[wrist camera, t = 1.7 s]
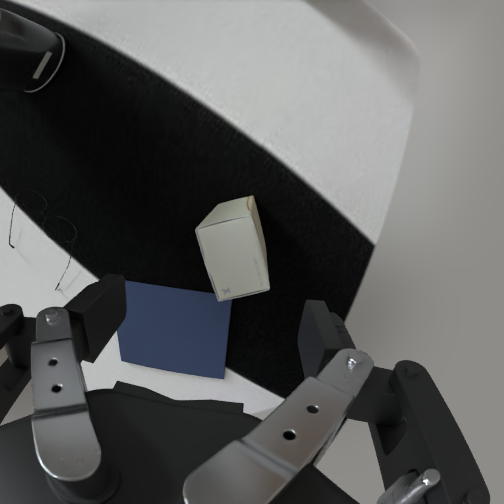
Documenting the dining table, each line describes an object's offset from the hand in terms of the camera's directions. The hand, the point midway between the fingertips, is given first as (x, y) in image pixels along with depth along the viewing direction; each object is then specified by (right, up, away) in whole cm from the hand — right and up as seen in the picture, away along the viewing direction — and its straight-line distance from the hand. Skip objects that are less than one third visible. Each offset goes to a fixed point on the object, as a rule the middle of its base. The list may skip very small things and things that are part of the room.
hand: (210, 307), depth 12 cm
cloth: (-9, -9, +25) cm, 28 cm away
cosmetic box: (0, +6, +21) cm, 22 cm away
